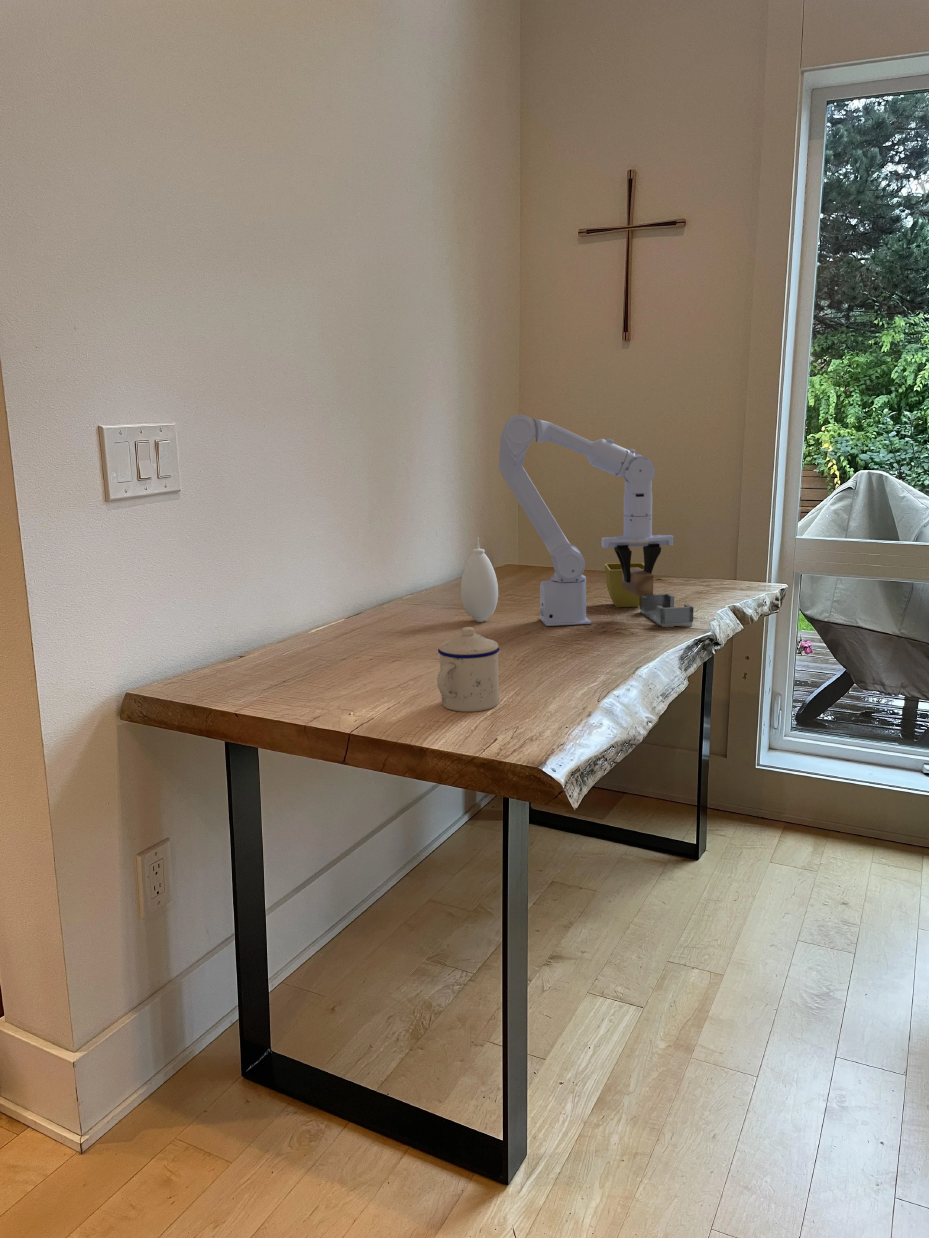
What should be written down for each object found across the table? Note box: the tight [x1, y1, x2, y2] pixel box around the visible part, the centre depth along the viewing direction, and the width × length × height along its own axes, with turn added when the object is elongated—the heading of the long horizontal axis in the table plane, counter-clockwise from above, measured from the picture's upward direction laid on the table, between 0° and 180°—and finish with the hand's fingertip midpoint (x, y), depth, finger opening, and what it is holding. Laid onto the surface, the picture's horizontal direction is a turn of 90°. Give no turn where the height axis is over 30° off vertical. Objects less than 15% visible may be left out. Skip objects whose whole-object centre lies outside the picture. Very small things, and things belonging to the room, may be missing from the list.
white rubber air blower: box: [460, 536, 499, 623], centre depth 196 cm, size 8×8×18 cm
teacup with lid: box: [436, 626, 500, 713], centre depth 138 cm, size 12×9×12 cm
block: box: [622, 567, 654, 596], centre depth 192 cm, size 4×11×4 cm, turn 5°
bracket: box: [638, 593, 694, 628], centre depth 194 cm, size 7×16×4 cm, turn 5°
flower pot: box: [604, 562, 644, 608], centre depth 209 cm, size 9×9×9 cm
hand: (637, 581), depth 192 cm, fingers closed on block, 3 cm apart
